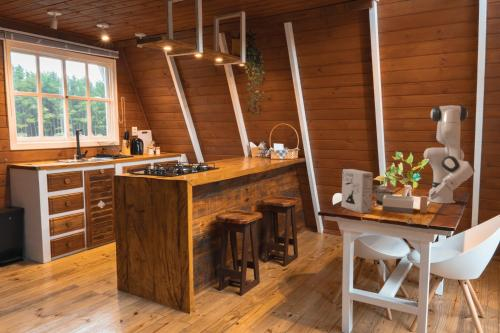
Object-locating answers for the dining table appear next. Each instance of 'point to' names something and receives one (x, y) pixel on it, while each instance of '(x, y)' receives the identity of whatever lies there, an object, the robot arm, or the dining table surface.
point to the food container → (382, 195)
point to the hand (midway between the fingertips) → (431, 197)
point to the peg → (423, 204)
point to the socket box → (398, 203)
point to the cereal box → (357, 190)
